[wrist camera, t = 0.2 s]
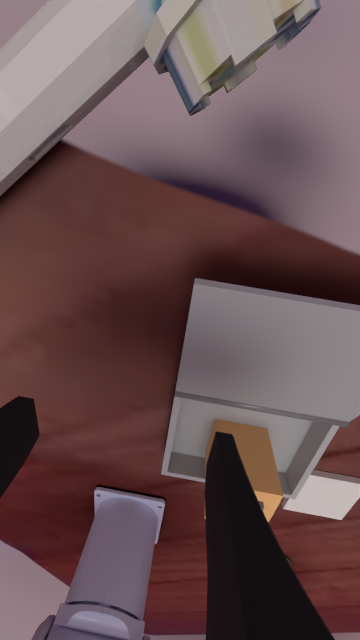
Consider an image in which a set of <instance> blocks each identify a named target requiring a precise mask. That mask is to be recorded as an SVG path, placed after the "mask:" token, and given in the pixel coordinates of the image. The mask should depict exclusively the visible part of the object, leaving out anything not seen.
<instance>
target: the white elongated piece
mask: <svg viewBox="0 0 360 640" xmlns="http://www.w3.org/2000/svg"><path fill="white" fill-rule="evenodd" d="M320 8H321V5H320V1H319V0H49V1H47V2H46V4H45V5H44V6H43V7H42V8H41V9H40V10H39V11H38V12H37V13H36V14H35V15H34V16H33V17H32V18H31V19H30V20H29V21H28V22H27V23H26V24H25V25H24V26H23V27H22V28H21V29H20V30H19V31H18V32H17V33H16V34H15V35H14V36H13V37H12V38H11V39H10V40H9V41H8V42H7V43H6V44H5V45H4V46H3V47H2V49H1V50H0V196H1V195H2V194H3V193H4V192H5V191H6V190H7V189H8V188H9V187H10V186H11V185H12V184H13V183H15V182H16V181H17V180H18V179H19V178H20V177H21V176H22V175H23V174H24V173H25V172H26V171H27V170H28V169H30V168H31V167H32V166H33V165H34V164H35V163H36V162H37V161H38V160H39V159H40V158H41V157H42V156H43V155H45V154H46V153H47V152H48V151H49V150H50V149H51V148H52V147H53V146H54V145H55V144H56V143H57V142H58V141H60V140H61V139H62V138H63V137H64V136H65V135H66V134H67V133H68V132H69V131H70V130H71V129H72V128H73V127H75V126H76V125H77V123H79V122H80V121H81V120H82V119H83V118H84V117H85V116H86V115H87V114H88V113H90V112H91V111H92V110H93V109H94V108H95V107H96V106H97V105H98V104H99V103H100V102H101V101H102V100H103V99H104V98H106V97H107V96H108V95H109V94H110V93H111V92H112V91H113V90H114V89H115V88H116V87H117V86H118V85H119V84H121V83H122V82H123V81H124V80H125V79H126V78H127V77H128V76H129V75H130V74H131V73H132V72H133V71H135V70H136V69H137V68H138V67H139V66H140V65H141V64H142V63H143V62H144V61H145V60H146V59H147V58H148V57H150V59H151V61H152V63H153V65H154V66H155V68H156V70H157V72H158V74H162V73H165V72H169V73H170V75H171V77H172V79H173V81H174V83H175V85H176V87H177V89H178V92H179V94H180V95H181V98H182V100H183V102H184V104H185V106H186V108H187V110H188V112H189V114H190V116H191V115H193V114H195V113H197V112H199V111H201V110H203V109H205V108H206V107H207V106H208V105H209V104H210V103H211V102H210V99H209V97H208V96H210V95H211V94H213V93H214V92H215V91H217V90H218V89H220V88H221V87H223V86H224V87H225V89H226V92H227V93H228V92H229V91H231V90H232V89H233V88H235V87H236V86H237V85H238V84H240V83H241V82H242V81H243V80H245V79H246V78H248V77H249V76H250V75H251V74H253V73H254V72H255V71H256V69H257V68H256V65H255V61H256V60H257V59H258V58H259V57H260V56H261V55H263V54H264V53H265V52H266V51H267V50H268V49H269V48H270V47H272V46H273V45H274V44H275V43H276V45H277V48H278V50H280V49H281V48H283V47H285V46H286V45H287V44H288V43H289V42H290V41H291V40H292V39H293V38H294V37H295V36H296V35H297V34H298V33H299V32H301V31H302V30H303V29H304V28H305V27H306V26H307V25H308V24H309V23H310V22H311V20H312V19H313V18H314V16H315V15H316V14H317V12H318V11H319V10H320Z"/></svg>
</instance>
